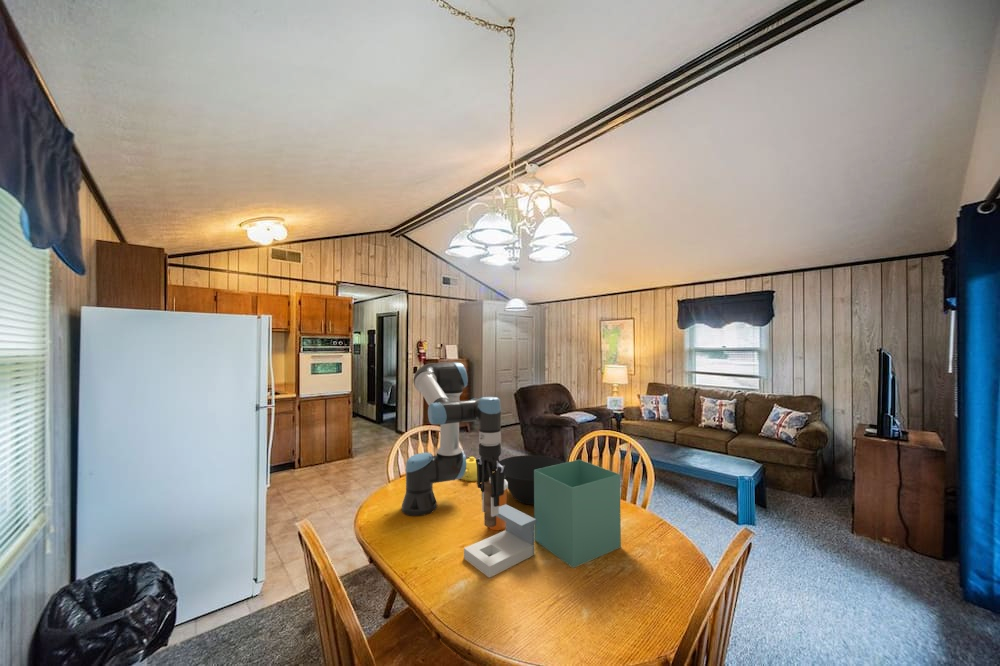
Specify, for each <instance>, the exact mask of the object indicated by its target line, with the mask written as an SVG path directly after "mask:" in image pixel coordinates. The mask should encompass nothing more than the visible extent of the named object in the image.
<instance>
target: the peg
mask: <svg viewBox="0 0 1000 666" xmlns="http://www.w3.org/2000/svg"><path fill="white" fill-rule="evenodd" d="M491 495H492V488H491V480H488V481H485V482H484V512H483V513H484V514H483V515H484V517H483V518H484V519H483V522H484V523H483V524H484V526H485V527H487V528H489V527H494V526H496V516H493V517H492V516H491Z"/></svg>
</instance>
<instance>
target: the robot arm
mask: <svg viewBox="0 0 1000 666" xmlns="http://www.w3.org/2000/svg"><path fill="white" fill-rule="evenodd" d="M412 381H413V386H414V388H415V389H416V390H417V392H419V393H421V395H422V396H423V398H424V400H425V402H426V404H427V406H428V407H427V417H428V422H429V424H431V425H439V426H440V428H439V429H440V431H439V433H440V434H439V439H440V440H439V443H440V445H439V447H438V449H437V450H436V455H433V453H431V452H420V453H415V454H414V455H411V456H410V457H408V459H407V460H406V462H405V494H404V497H403V500H402V504H401V511H402V513H403V514H404V515H407V516H409V517H418V516H419V517H421V516H426V515H429V514H431V513H433V512H434V511H435V510H436V509H437V508H438V507H437V504H438V503H437V499H436V497H435V496H436V495H435V493H434V490H433V488H434V487H433V486H434V485H433V484H436V483H443V482H450V481H455V480H460V479H461V478H462V477H463V476H464V474H465V471H466V459H467V456H466V454H465V453H464V452H463V450H462V448H461V447H460V423H469V422H470V423H471V422H478V442H479V444H478V455H479V456H480V457H479V458H475V459H476V464H477V481H476V482H477V484H476V485H477V489H480V491H481V502H482V505H481V507H482V512H483V513H484V482H485V481H488V480H489V478H490V480H491V488H492V495H491V516H492V517H493V516H496V515H499V496H501V495H504V472H505V466H502V465H501V464H500V461H501V460H500V456H501V454H502V445H501V443H502V429H501V428H502V427H501V425H502V423H501V420H502V419H501V414H502V413H501V411H502V406H501V399H500V398H499V397H496V396H483V397H480V398H471V399H469V400H460V396H461V395H462V394H464V393H463V392H464V389H465V388H466V387H467V386H468V383H469V382H468V381H469V379H468V373H467V369H466V367H465V365H464V364H463V363H461V362H453V361H452V362H430V363H426V364H423V365H422V366H420V367H419V368H418V369H417V370H416V371H415V374H414V375H413V380H412Z"/></svg>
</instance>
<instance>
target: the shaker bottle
mask: <svg viewBox="0 0 1000 666" xmlns="http://www.w3.org/2000/svg"><path fill="white" fill-rule="evenodd" d="M505 478H506V476H504V495H501V496H499V507H500V506H502V505H505V504H507V505H508V482H507V481H506V479H505ZM489 480H490V478H489ZM488 528H489V529H490V530H491V531H502V530H504V529H506V521H504V520H502V519H500V518H499V517H497V516H496V526H494V527H488Z"/></svg>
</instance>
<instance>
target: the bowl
mask: <svg viewBox="0 0 1000 666" xmlns="http://www.w3.org/2000/svg"><path fill="white" fill-rule="evenodd" d="M499 461H500V464H501V465H502V466H505V472H504V476H506V478H505V479H506V481H507V482H508V488H507V490H509V492H510V494H511V495H512V497H513V498H514V499H515V500H516V501H518V502H519V503H522V504H526V505H534V470H536V469H540V468H545V467H549V466H553V465H558V464H562V463H566V462H565V461H564V460H561V459H559V458H555V457H550V456H545V455H534V454H533V455H531V454H529V455H528V454H527V455H516V456H510V457H506V458H504V459H500V460H499Z"/></svg>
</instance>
